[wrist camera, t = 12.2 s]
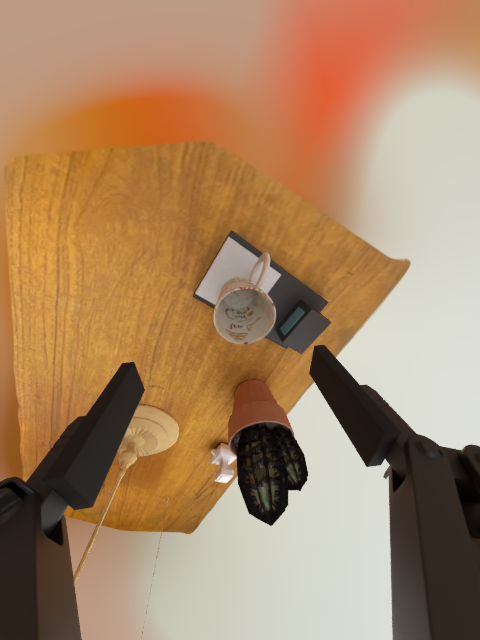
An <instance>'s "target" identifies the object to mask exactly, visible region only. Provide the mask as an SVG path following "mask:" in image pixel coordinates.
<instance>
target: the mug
mask: <svg viewBox="0 0 480 640" xmlns="http://www.w3.org/2000/svg"><path fill="white" fill-rule="evenodd" d="M263 261H264V263H263V269H262V272H261V274H260V276H259V279H258V281H257V283H256V285H254V284H253V283H252V282H251V281H252V280H253V278H254V276H255V274H256V272H257V271H258V269H259V267H260V265H261V263H262V262H263ZM269 266H270V254H269V253H268V252H265V253H263V254H262V255H261V256H260V257H259V259H258V261H257V262H256V263H255V265H254V267H253V270H252V273H251V275H250V278H249V280H247V279H245V278H241V277H236V278H232V279H230V280H229V281H227V282H226V283H225V285H224V286H223V288H222V290H221V293H220V295H219V298H218V300H217V303H216V305H215V308H214V312H213V321H214V325H215V328H216V330H217V332H218V333H219V334H220V335H221V336H222V337H223V338H224V339H226V340H227V341H229V342H232V343H235V344H250V343H254V342H257V341H259V340H261V339H262V338H264V337H265V336H266V335H267V334H268V333H269V332H270V331H271V329H272V327H273V325H274V323H275V319H276V309H275V306H274V303H273V301H272V300H271V298H270V297H269V296H268V295H267V294H266V293H265V292H264V291H263V290H261V289H260V288H261V286H262V284H263V282H264V280H265V278H266V275H267V273H268V270H269Z"/></svg>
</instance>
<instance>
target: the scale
mask: <svg viewBox="0 0 480 640" xmlns="http://www.w3.org/2000/svg"><path fill="white" fill-rule="evenodd" d="M262 254H263V253H261V252H260V251H259V250H257V249H256V248H255V247H253V246H252V245H251V244H249V243H248V242H247V241H245V240H244V239H243V238H241V237H240V236H239V235H237V234H236V233H235V232H233V231H232V230H231V231H230V233H229V234H228V236H227V238H226V240H225V241H224V243H223V245H222V246H221V248H220V250H219V251H218V253H217V255H216V257H215V258H214V260H213V262H212V263H211V265H210V267H209V268H208V270H207V272H206V274H205V275H204V277H203V279H202V280H201V282H200V284H199V285H198V287H197V289H196V290H195V292H194V295H193V297H194V298H196V299H198V300H200V301H202V302H203V303H205V304H207V305H209V306H211V307H212V308H215V305H216V303H217V300H218V298H219V295H220V293H221V290H222V288H223V286H224V285H225V283H226V282H227V281H229V280H230V279H232V278H236V277H241V278H245V279H247V280H249V278H250V275H251V273H252V270H253V267H254V265H255V263H256V262H257V261H258V259H259V257H260V256H261V255H262ZM263 263H264V261H263V262H262V263H261V265H260V267H259V269H258V271H257V272H256V274H255V276H254V278H253V280H252V281H251V282H252V283H253V284H254V285H256V283H257V281H258V279H259V276H260V274H261V272H262V269H263ZM260 289H261V290H263V291H264V292H265V293H266V294H267V295H268V296H269V297H270V298H271V300H272V301H273V303H274V306H275V309H276V319H275V323H274V325H273V327H272V329H271V331H270V332H269V333H268V334H267V335H266V336H265V337H266V338H268V339H270V340H272V341H273V342H275V343H277V344H279V345H281V346H282V347H284V348H286V349H287V348H288V347H290V348H292V349H294V350H295V351H297V352H299V353H301V354H302V353H303V352H304V351H305V350H306V349H307V348H308V347H309V346H310V345H311V344H312V343H313V342H314V340H315V339H316V338H317V337H318V336H319V335H320V334H321V333H322V332H323V331H324V330H325V329H326V328H327V327H328V326H329V325H330V324H331V322H330V321H329V320H328V319H327V318H326V317H324V316H323V315H322V314H321V313H320V312H321V311H322V309H323V308H324V307H325V306H326V305H327V304H328V303H329V302H327V301H326V300H325V299H323V298H322V297H321V296H319V295H318V294H317V293H315V292H314V291H312V290H311V289H310V288H308V287H307V286H306V285H304V284H303V283H302V282H300V281H299V280H298V279H296V278H295V277H294V276H292V275H291V274H290V273H288V272H287V271H286V270H284V269H283V268H282V267H280V266H279V265H278V264H276V263H275V262H274V261H272V260H271V259H270V266H269V270H268V273H267V275H266V278H265V280H264V282H263V284H262V286H261V288H260Z"/></svg>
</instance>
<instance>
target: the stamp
mask: <svg viewBox="0 0 480 640" xmlns="http://www.w3.org/2000/svg"><path fill="white" fill-rule="evenodd" d="M211 453H212V455H211V457H210V458H209V460H210V463H212V464H217V465H220V468H219V469H218V470H217V471H216V475H215V481H217V482H222V483H227V482H228V481H229V480H230V479H231V478H232V477H233V476H234V470H233V469H232V468H231V467H229V466H228V465H229V464H230V463H232V462H233V461H234V460H235V459H236V458H237V457H236V456H234V455H233V454H232V453H231V452H230V451H229V446H228V445H227V444H223V443H221V444H220V445H219V446H218V447H217V448H216V449H212V450H211Z"/></svg>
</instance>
